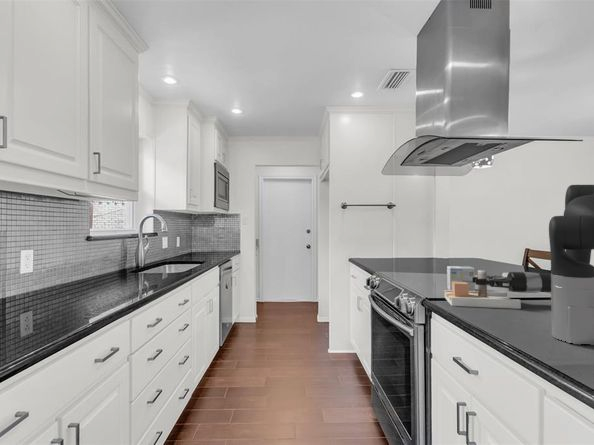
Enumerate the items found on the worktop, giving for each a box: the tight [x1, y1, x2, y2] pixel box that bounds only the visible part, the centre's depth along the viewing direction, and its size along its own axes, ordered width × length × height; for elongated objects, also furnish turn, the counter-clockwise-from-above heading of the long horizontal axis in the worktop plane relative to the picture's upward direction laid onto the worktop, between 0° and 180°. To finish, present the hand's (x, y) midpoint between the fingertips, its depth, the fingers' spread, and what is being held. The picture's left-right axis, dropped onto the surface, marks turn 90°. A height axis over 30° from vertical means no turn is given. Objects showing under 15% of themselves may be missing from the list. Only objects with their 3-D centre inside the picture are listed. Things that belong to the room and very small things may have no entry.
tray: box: [444, 289, 522, 310], centre depth 128 cm, size 14×23×3 cm, turn 76°
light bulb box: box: [446, 265, 476, 291], centre depth 151 cm, size 11×7×11 cm, turn 78°
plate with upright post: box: [444, 269, 489, 300], centre depth 129 cm, size 11×14×11 cm
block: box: [452, 281, 469, 297], centre depth 130 cm, size 5×5×5 cm
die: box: [501, 272, 511, 292], centre depth 150 cm, size 8×9×10 cm
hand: (474, 280), depth 128 cm, fingers open, 3 cm apart
